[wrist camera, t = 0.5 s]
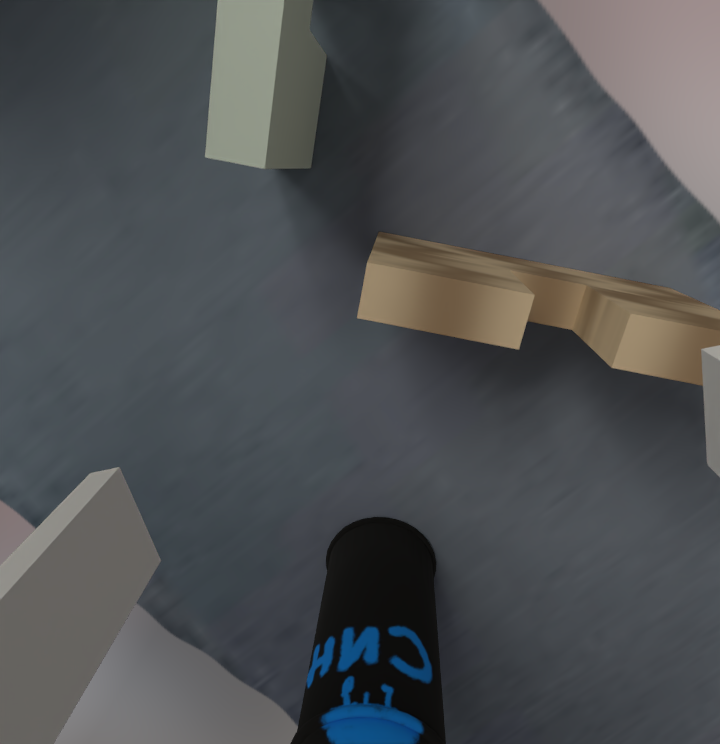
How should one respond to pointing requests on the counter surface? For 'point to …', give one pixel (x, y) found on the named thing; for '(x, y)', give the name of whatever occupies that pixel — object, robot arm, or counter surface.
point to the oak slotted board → (536, 305)
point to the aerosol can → (375, 642)
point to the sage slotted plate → (265, 84)
